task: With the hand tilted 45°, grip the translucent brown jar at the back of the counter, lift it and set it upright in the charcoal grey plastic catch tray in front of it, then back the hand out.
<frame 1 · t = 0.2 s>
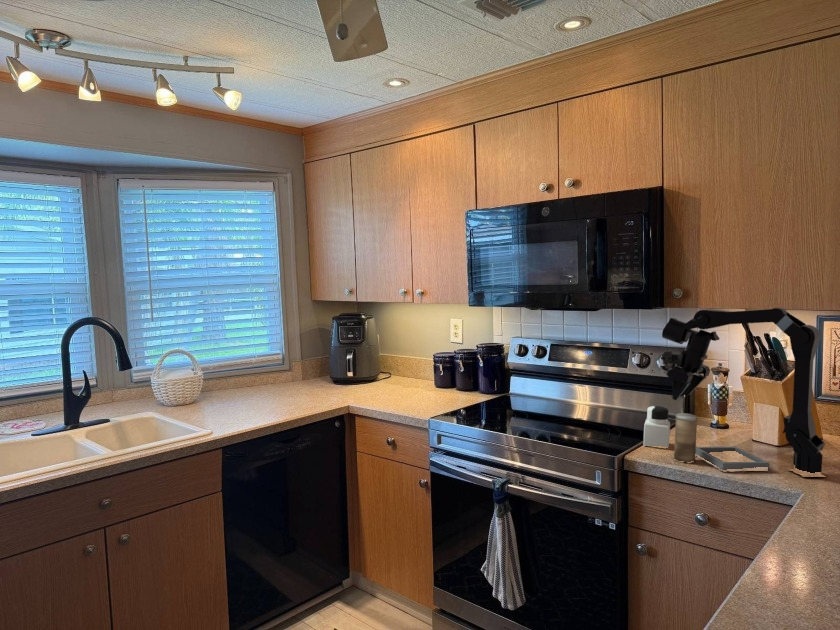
hand: (680, 397, 182), 15 cm above the worktop, tool tilted 15°, fingers open, 9 cm apart
catch tray: (729, 463, 168), on the worktop
translucent brown jar: (684, 460, 170), on the worktop
medicine bottle: (656, 445, 185), on the worktop
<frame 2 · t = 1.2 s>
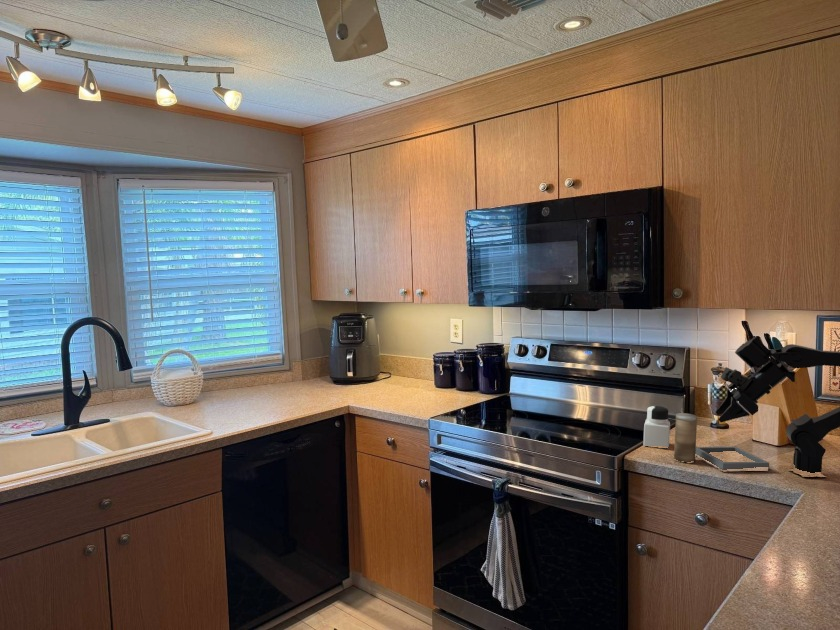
hand: (717, 417, 166), 13 cm above the worktop, tool tilted 45°, fingers open, 9 cm apart
nothing on the worktop moved.
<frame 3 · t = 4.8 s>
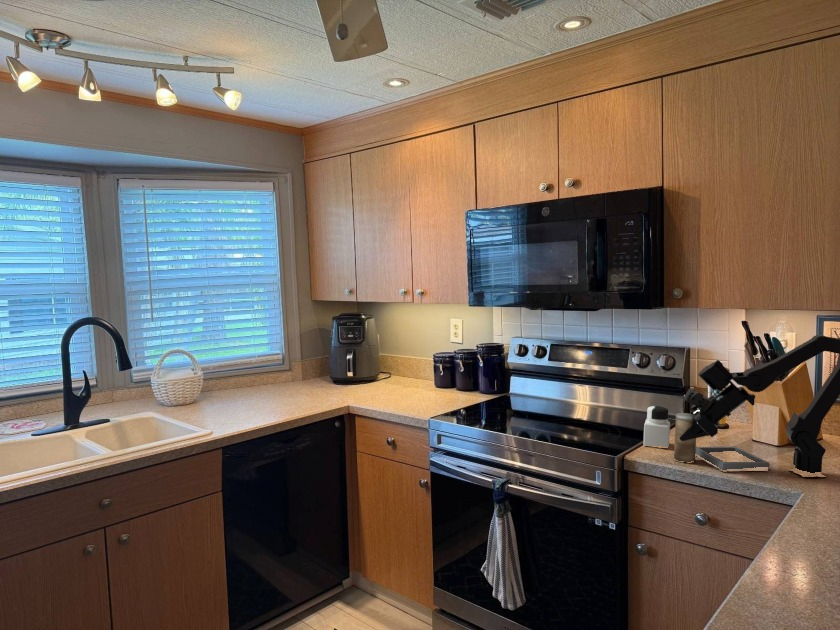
hand: (680, 437, 170), 7 cm above the worktop, tool tilted 45°, fingers closed on translucent brown jar, 5 cm apart
translucent brown jar: (684, 460, 170), on the worktop, touching gripper
everything else where it was.
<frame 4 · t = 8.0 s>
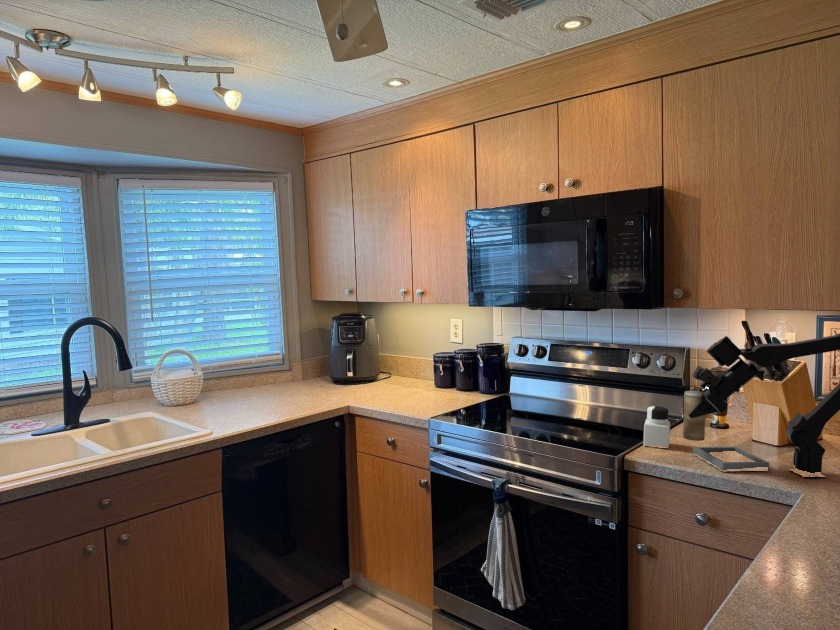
hand: (689, 414, 169), 13 cm above the worktop, tool tilted 45°, fingers closed on translucent brown jar, 5 cm apart
translucent brown jar: (693, 438, 169), point 7 cm above the worktop, touching gripper
everything else where it was.
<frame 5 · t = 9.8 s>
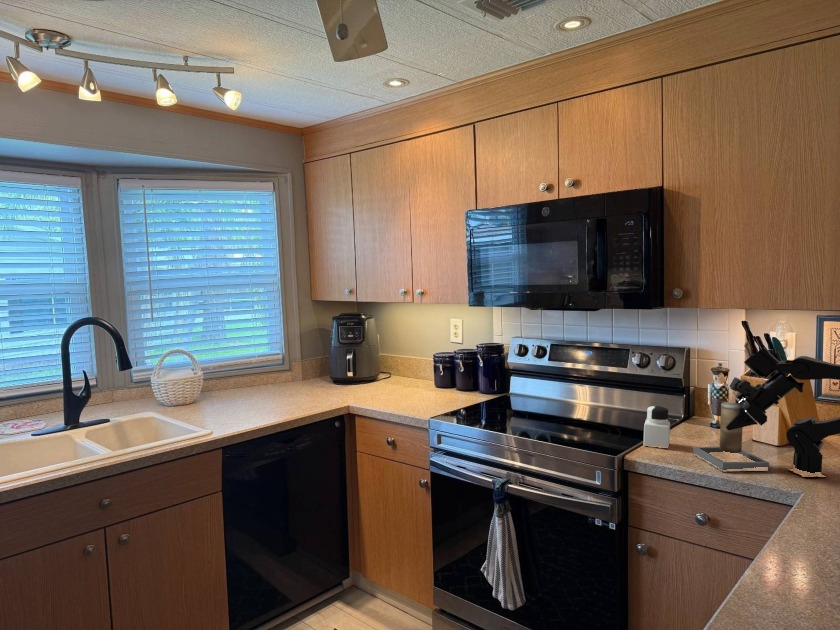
hand: (725, 426, 167), 10 cm above the worktop, tool tilted 45°, fingers closed on translucent brown jar, 5 cm apart
translucent brown jar: (730, 450, 167), point 4 cm above the worktop, touching gripper
everything else where it was.
when the fingers open (8 cm above the worktop, at t = 11.1 s): translucent brown jar stays where it is, resting on catch tray.
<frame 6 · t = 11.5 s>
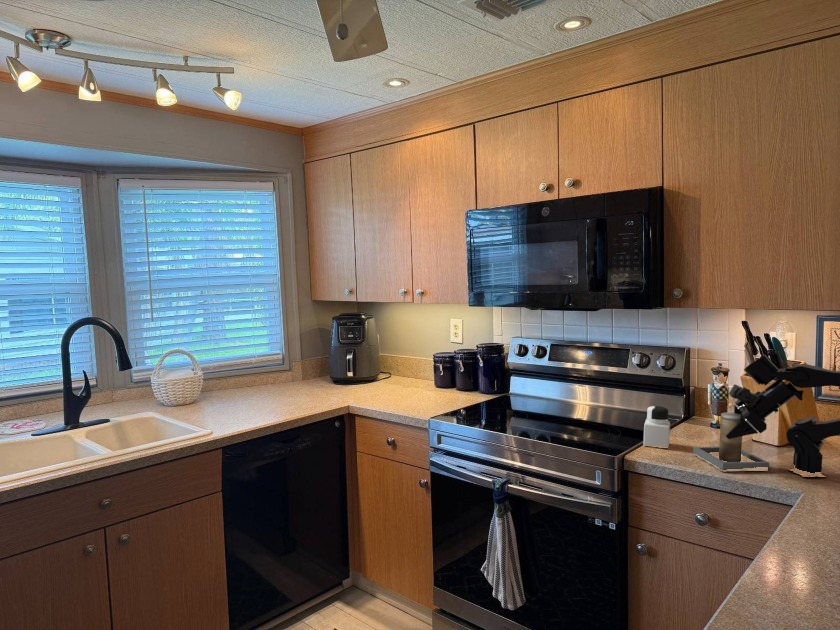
hand: (725, 433, 168), 8 cm above the worktop, tool tilted 45°, fingers open, 9 cm apart
translucent brown jar: (729, 460, 168), point 1 cm above the worktop, touching catch tray
everything else where it was.
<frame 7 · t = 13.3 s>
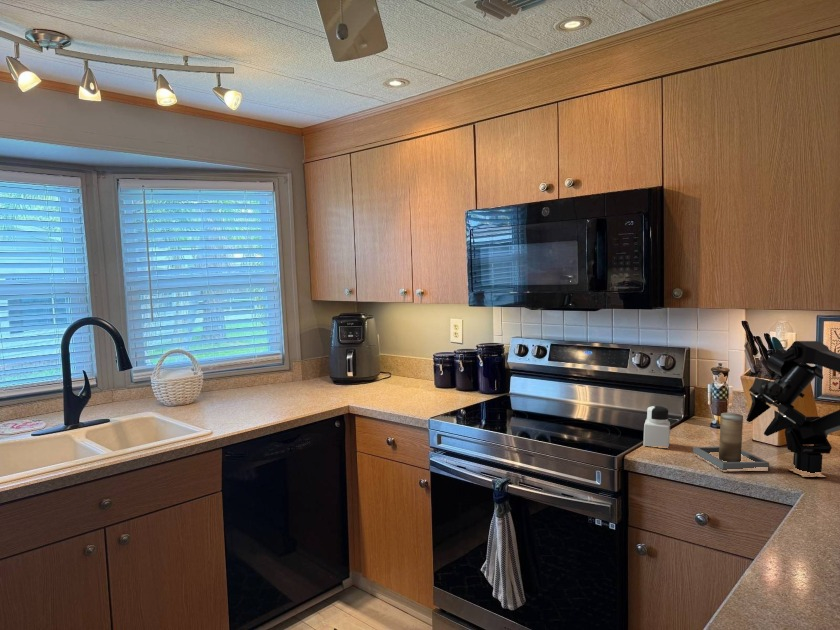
hand: (756, 428, 165), 11 cm above the worktop, tool tilted 35°, fingers open, 9 cm apart
nothing on the worktop moved.
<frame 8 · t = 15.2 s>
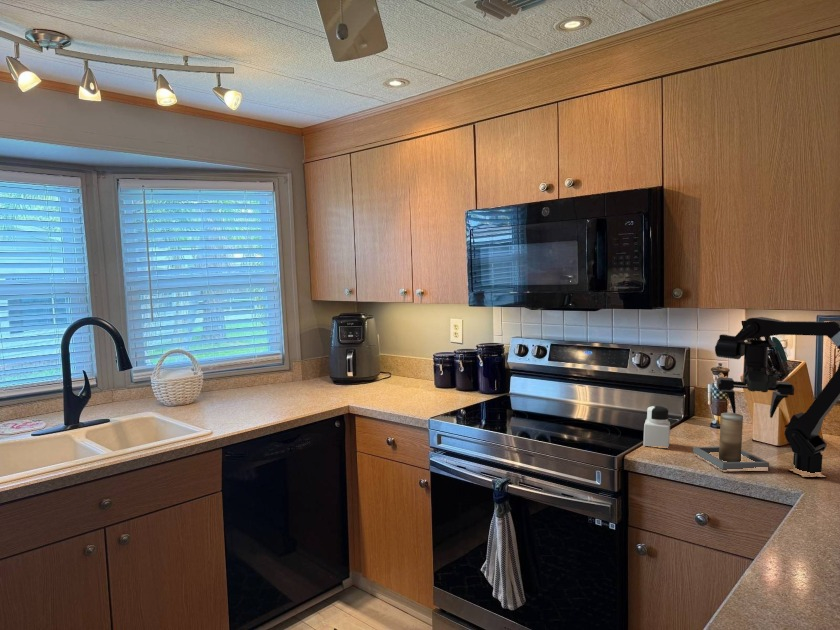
hand: (752, 415, 169), 13 cm above the worktop, tool pointing down, fingers open, 9 cm apart
nothing on the worktop moved.
at the end: translucent brown jar inside the target area on the catch tray (0.0 cm from its centre), point 0.8 cm above the catch tray's base; translucent brown jar tilted 0°; the gripper is holding nothing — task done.
